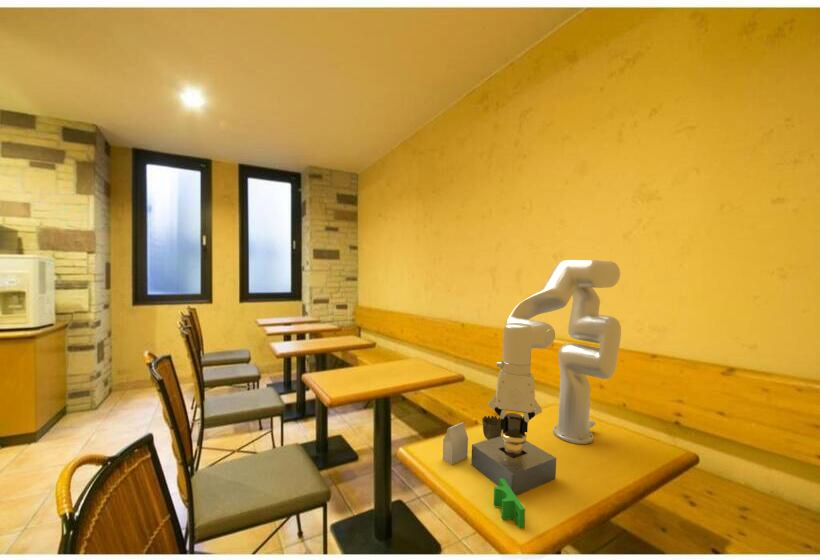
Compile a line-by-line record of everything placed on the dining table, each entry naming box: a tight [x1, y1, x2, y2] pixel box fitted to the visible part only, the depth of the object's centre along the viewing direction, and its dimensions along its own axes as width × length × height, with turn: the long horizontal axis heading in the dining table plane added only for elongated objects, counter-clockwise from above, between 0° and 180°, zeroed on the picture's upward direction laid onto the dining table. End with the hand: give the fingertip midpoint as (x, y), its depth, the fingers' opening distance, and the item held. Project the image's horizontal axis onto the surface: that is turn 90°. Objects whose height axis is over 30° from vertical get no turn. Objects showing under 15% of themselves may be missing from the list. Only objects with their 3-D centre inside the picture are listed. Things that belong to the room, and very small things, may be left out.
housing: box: [470, 436, 557, 497], centre depth 99 cm, size 16×16×6 cm
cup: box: [481, 415, 503, 440], centre depth 114 cm, size 8×7×8 cm
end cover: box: [501, 412, 527, 458], centre depth 99 cm, size 7×7×11 cm
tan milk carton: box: [442, 422, 469, 466], centre depth 105 cm, size 4×7×10 cm, turn 130°
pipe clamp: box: [493, 478, 526, 529], centre depth 83 cm, size 11×4×5 cm, turn 10°
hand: (513, 432), depth 99 cm, fingers closed on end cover, 4 cm apart
